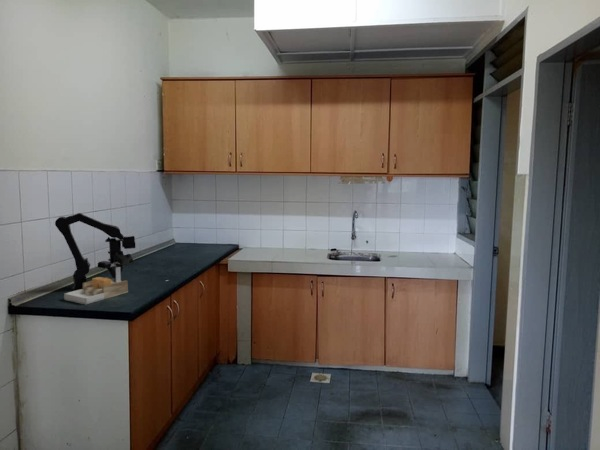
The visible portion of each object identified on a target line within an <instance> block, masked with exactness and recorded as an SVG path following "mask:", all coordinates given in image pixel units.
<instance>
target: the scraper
mask: <svg viewBox="0 0 600 450" xmlns="http://www.w3.org/2000/svg"><path fill="white" fill-rule="evenodd" d="M115 266H116V265H115ZM111 277H112V276H111ZM121 277H122V272H120V267H118V266H116V268H115V278H113V277H112V278H111V282H116V283H118V282H122V281H123V280H122V278H121Z"/></svg>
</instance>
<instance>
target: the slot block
mask: <svg viewBox="0 0 600 450" xmlns="http://www.w3.org/2000/svg"><path fill="white" fill-rule="evenodd" d="M104 278H108V279H110V278H109V277H107V276H105V277H104ZM121 281H122V282H118V283H116V282H111V284H110V285H107V286H103V287H102V288H99V287H93V284H92V280H87V282H84V283H83V289H84V293H85V294H90V295H98V294H101V293H104V299H103V300H107V299H110V298H113V297H117V296H120V295H123V294H127V293H129V283H128V282H129V281H128V280H125V279H124V280H121Z"/></svg>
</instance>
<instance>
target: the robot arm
mask: <svg viewBox="0 0 600 450" xmlns="http://www.w3.org/2000/svg"><path fill="white" fill-rule="evenodd" d="M78 222H80V223H83V224H85V225H88V226H90V227H93V228H94V229H97V230H100V231H101V232H103V233H104V234H106V235H107V238H106V239H105V240H104V241H105V243H109V244H108V245H109V251H107V254H109V258H108V260H101V261H98V263H97V268H100V269H106V270H107V271H108V272H109V273H110V275H111V277H113V278H115V268H116V266H118V267H120V272H121V273H122V272H123V269H124V267H125V266H127V265H128V264H131V263H134V259H133V257H132V254H131V253H128V254H127V253H126V254H124V252H123V250H122V248H124V249H125V250H128V249H129V250H130V249H136V239H135V236H134V235H131V236H130V235H129V236H124V234H122V233H121V229H120V228H119V226H116V225H113V224H109V223H104V222H101V221H99V220H97V219H94V218H92V217H90V216H87V215H85V214H83V213H81V212H78V213H76V214H73V215H69V216H59V217H58V218H57V219H55V221H54V225H55V227H56V228H57V230H58V232H60V233H61V234H62V235H63V238H64V240H65V242H66V244H67V247H68V248H69V251H70V252H71V254H72V257H73V259H74V263H75V268H76V269H75V271H73V273H72V279H73V287H71V288H70V289H71V290H74V291H76V290H80V289H83V283H84V282H88V280H87V277H86V276H87V274H89V272H90V269H91V263H90V261H89V259H88V257H86V258H84V256H83V255H82V252H81V251H80V248H79V246H78V244H77V242H76V239H75V237H74V235H73V233H72V229H71V225H72V224H74V223H78Z"/></svg>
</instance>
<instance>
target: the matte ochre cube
mask: <svg viewBox="0 0 600 450" xmlns="http://www.w3.org/2000/svg"><path fill="white" fill-rule="evenodd" d="M104 278H105V277H101V276H98V277H97V276H96V277H92V279H91V281H92V284H93V287H99V280H100V279H104Z"/></svg>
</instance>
